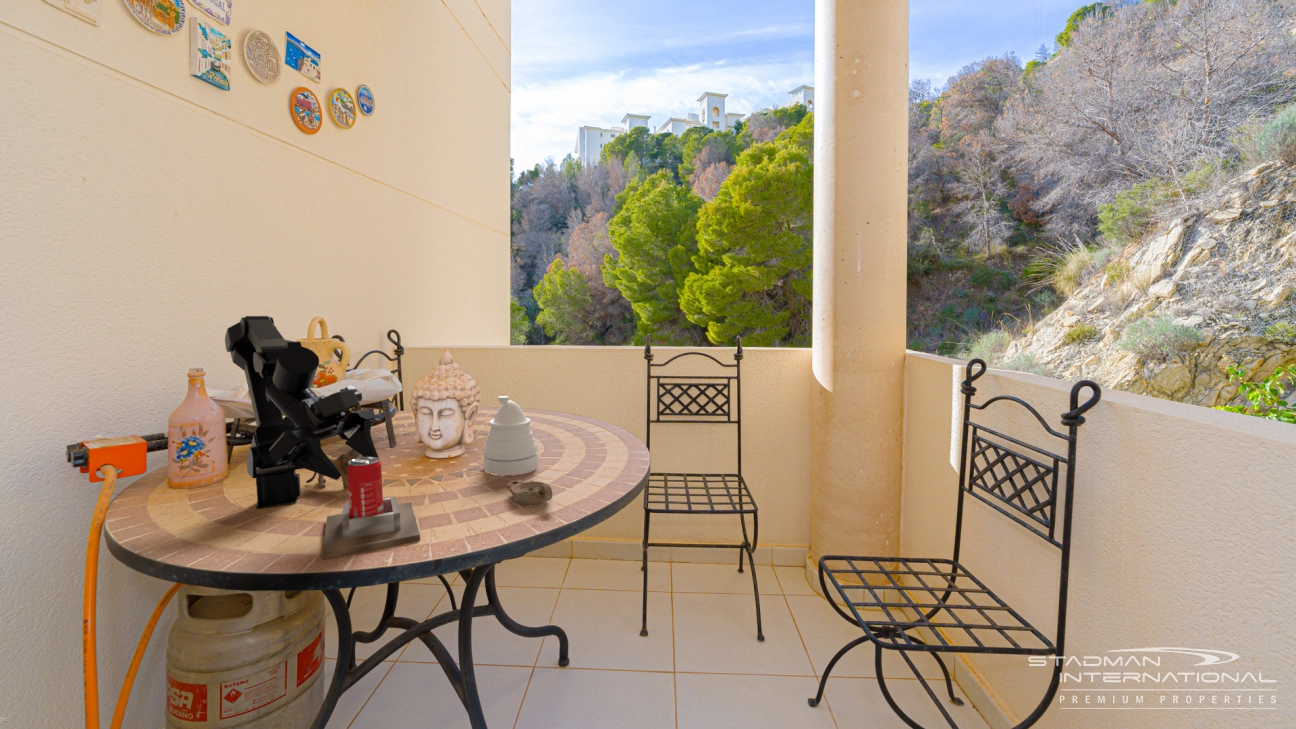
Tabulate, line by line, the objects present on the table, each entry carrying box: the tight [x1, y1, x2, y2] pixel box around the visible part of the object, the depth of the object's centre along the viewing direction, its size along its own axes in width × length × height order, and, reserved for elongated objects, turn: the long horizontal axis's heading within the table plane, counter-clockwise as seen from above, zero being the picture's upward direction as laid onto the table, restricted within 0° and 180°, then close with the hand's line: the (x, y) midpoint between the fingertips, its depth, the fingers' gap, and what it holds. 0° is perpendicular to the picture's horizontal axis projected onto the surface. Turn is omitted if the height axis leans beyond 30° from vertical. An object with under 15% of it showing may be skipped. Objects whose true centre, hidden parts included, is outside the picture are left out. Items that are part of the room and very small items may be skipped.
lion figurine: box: [305, 448, 364, 492], centre depth 111 cm, size 15×5×9 cm, turn 87°
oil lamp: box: [506, 479, 553, 507], centre depth 104 cm, size 13×8×5 cm, turn 45°
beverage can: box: [347, 457, 384, 519], centre depth 89 cm, size 5×5×12 cm
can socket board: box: [322, 496, 421, 560], centre depth 90 cm, size 14×16×4 cm
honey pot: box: [483, 395, 539, 476], centre depth 125 cm, size 13×13×18 cm
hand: (358, 469), depth 90 cm, fingers open, 9 cm apart
